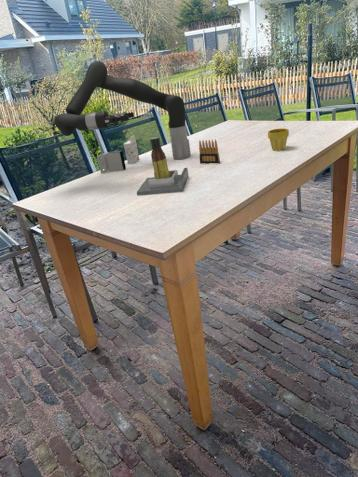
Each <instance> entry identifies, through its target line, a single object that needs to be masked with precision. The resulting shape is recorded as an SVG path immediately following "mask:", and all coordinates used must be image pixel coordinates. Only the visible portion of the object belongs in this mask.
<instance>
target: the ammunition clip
mask: <svg viewBox="0 0 358 477" xmlns="http://www.w3.org/2000/svg"><path fill="white" fill-rule="evenodd" d="M198 144H199V145H198V147H199V148H198V150H199V151H198V152H199V163H200V164H204V163H205V164H209V163H219V164H220V163H221V160H220V158H221V157H220V153H219V146H218V142H217V140H216V139H214V140H213V139H211V141H210V139H208V140H207V139H205V141H204V139H202V141H201V140H200V139H199V141H198ZM205 164H204V165H205ZM209 165H210V164H209Z"/></svg>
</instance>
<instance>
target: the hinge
mask: <svg viewBox="0 0 358 477" xmlns="http://www.w3.org/2000/svg"><path fill="white" fill-rule="evenodd" d="M96 157H97V162H98V166H99V171H100V174H105V173H111V172H119V171H121V172H122V171H126V169H127V167H126V161H125V156H124V152H123V151H122V150H117V151H116V150H115V151H109V152H103V153H102V154H97V155H96Z"/></svg>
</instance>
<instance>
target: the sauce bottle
mask: <svg viewBox="0 0 358 477" xmlns="http://www.w3.org/2000/svg"><path fill="white" fill-rule="evenodd" d="M160 140H161V139H160V136H154V137H153V136H152V137H150V139H149V141H150V144H151V149H152V151H151V153H150V154H151V155H150V156H151V160H152V167H153V173H154V172H155V177H156V179H160V178H170V175H169V171H170V170H169V167H168V161H167V156H166V154H165V151H164V150H163V149H162V145H161V142H160Z"/></svg>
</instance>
